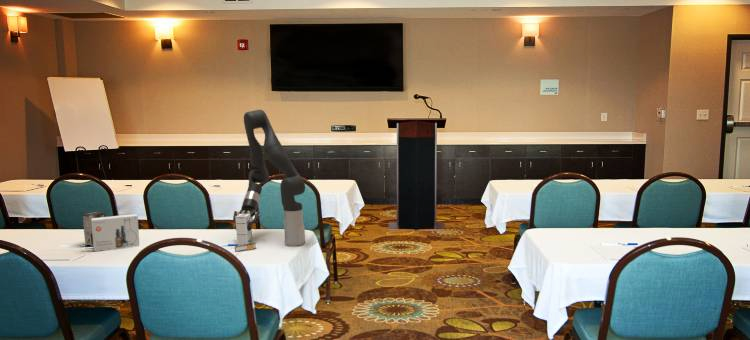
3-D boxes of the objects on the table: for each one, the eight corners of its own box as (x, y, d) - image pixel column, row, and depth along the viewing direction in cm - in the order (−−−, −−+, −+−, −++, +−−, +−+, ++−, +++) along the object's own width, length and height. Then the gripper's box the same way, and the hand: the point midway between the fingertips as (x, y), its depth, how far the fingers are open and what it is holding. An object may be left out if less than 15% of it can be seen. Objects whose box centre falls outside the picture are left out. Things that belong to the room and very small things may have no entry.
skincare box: (94, 252, 291) (91, 220, 289) (93, 249, 296) (90, 218, 294) (140, 246, 301) (137, 215, 299) (138, 243, 306) (136, 213, 304)
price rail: (254, 247, 291) (254, 242, 291) (256, 248, 289) (256, 243, 289) (234, 251, 286) (234, 246, 285) (236, 252, 284) (236, 247, 284)
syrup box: (247, 244, 298) (246, 215, 296) (236, 244, 299) (235, 215, 297) (252, 241, 304) (250, 213, 302) (241, 241, 305) (239, 213, 303)
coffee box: (101, 241, 313) (99, 211, 311) (108, 242, 310) (105, 212, 308) (84, 245, 306) (81, 214, 304) (91, 246, 302) (88, 215, 300)
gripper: (235, 197, 307) (226, 225, 297) (261, 197, 304) (253, 225, 294) (240, 205, 313) (231, 233, 303) (266, 206, 310) (258, 234, 300)
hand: (242, 229), depth 299 cm, fingers closed on syrup box, 6 cm apart
